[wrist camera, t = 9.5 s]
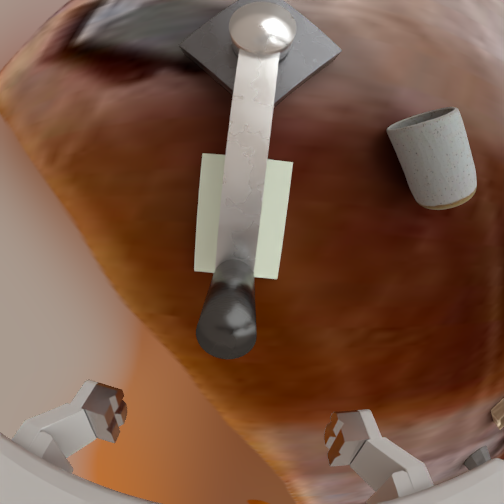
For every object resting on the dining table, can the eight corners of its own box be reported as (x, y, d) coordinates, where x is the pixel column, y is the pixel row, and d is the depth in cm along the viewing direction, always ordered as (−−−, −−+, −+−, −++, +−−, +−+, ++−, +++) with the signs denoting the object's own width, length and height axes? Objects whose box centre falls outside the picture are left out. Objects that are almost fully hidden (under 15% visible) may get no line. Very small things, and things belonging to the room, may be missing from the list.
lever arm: (235, 16, 18) (228, -56, 8) (293, 22, 18) (316, -47, 8) (204, 287, 25) (180, 358, 15) (261, 293, 25) (267, 367, 15)
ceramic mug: (403, 207, 26) (449, 222, 18) (372, 133, 23) (415, 123, 16) (466, 169, 24) (512, 174, 17) (441, 102, 22) (486, 92, 15)
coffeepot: (478, 457, 48) (497, 491, 31) (457, 470, 49) (475, 506, 32) (494, 434, 44) (518, 470, 27) (473, 448, 44) (495, 488, 27)
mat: (203, 153, 24) (202, 153, 24) (292, 162, 24) (292, 162, 24) (194, 269, 27) (194, 270, 27) (276, 277, 28) (277, 279, 27)
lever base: (261, -2, 19) (262, -15, 17) (334, 59, 21) (342, 50, 19) (184, 54, 21) (178, 44, 19) (258, 120, 23) (259, 115, 21)
